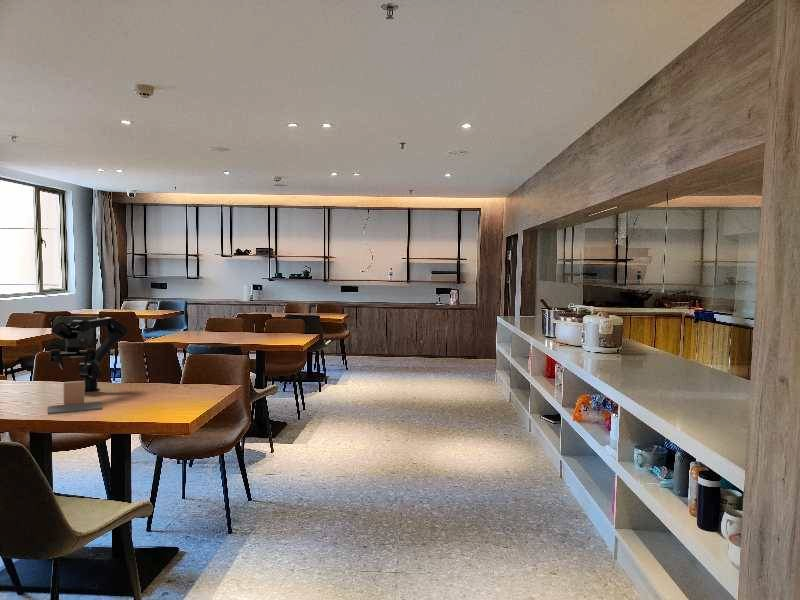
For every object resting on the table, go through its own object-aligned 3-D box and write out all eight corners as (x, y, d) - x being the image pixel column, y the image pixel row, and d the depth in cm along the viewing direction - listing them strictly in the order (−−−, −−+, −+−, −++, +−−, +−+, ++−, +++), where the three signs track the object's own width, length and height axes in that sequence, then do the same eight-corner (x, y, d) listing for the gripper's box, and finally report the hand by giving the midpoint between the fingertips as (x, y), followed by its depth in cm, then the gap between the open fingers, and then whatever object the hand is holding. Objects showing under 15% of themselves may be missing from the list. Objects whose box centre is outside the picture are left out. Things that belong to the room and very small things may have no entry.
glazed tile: (63, 404, 255) (63, 382, 255) (84, 402, 259) (84, 380, 259) (63, 405, 253) (63, 383, 252) (84, 403, 257) (84, 381, 256)
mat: (47, 407, 248) (47, 406, 248) (99, 403, 259) (99, 401, 259) (47, 414, 237) (47, 412, 237) (102, 409, 248) (102, 407, 248)
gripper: (50, 332, 264) (50, 359, 255) (96, 331, 275) (98, 357, 266) (49, 347, 271) (50, 374, 262) (94, 346, 281) (96, 372, 272)
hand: (73, 369), depth 265 cm, fingers open, 8 cm apart
